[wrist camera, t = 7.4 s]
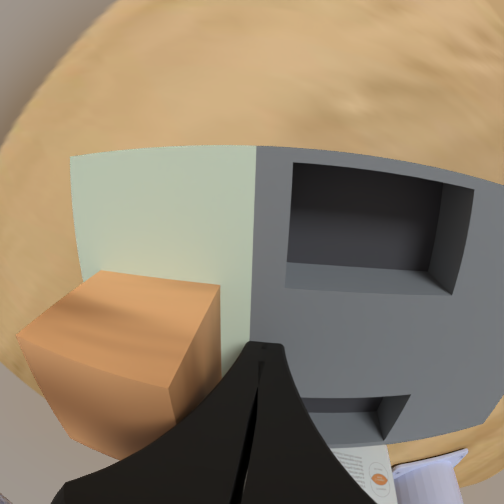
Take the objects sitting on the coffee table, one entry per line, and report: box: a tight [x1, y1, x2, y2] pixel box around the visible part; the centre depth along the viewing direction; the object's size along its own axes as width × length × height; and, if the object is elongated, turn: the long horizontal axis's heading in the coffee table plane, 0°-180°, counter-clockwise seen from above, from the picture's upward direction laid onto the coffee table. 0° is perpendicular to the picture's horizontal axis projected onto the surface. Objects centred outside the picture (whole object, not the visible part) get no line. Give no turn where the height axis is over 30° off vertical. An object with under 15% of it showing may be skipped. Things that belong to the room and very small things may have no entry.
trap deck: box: [70, 145, 504, 448], centre depth 10 cm, size 13×21×2 cm, turn 88°
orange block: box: [16, 270, 222, 460], centre depth 8 cm, size 4×4×4 cm
